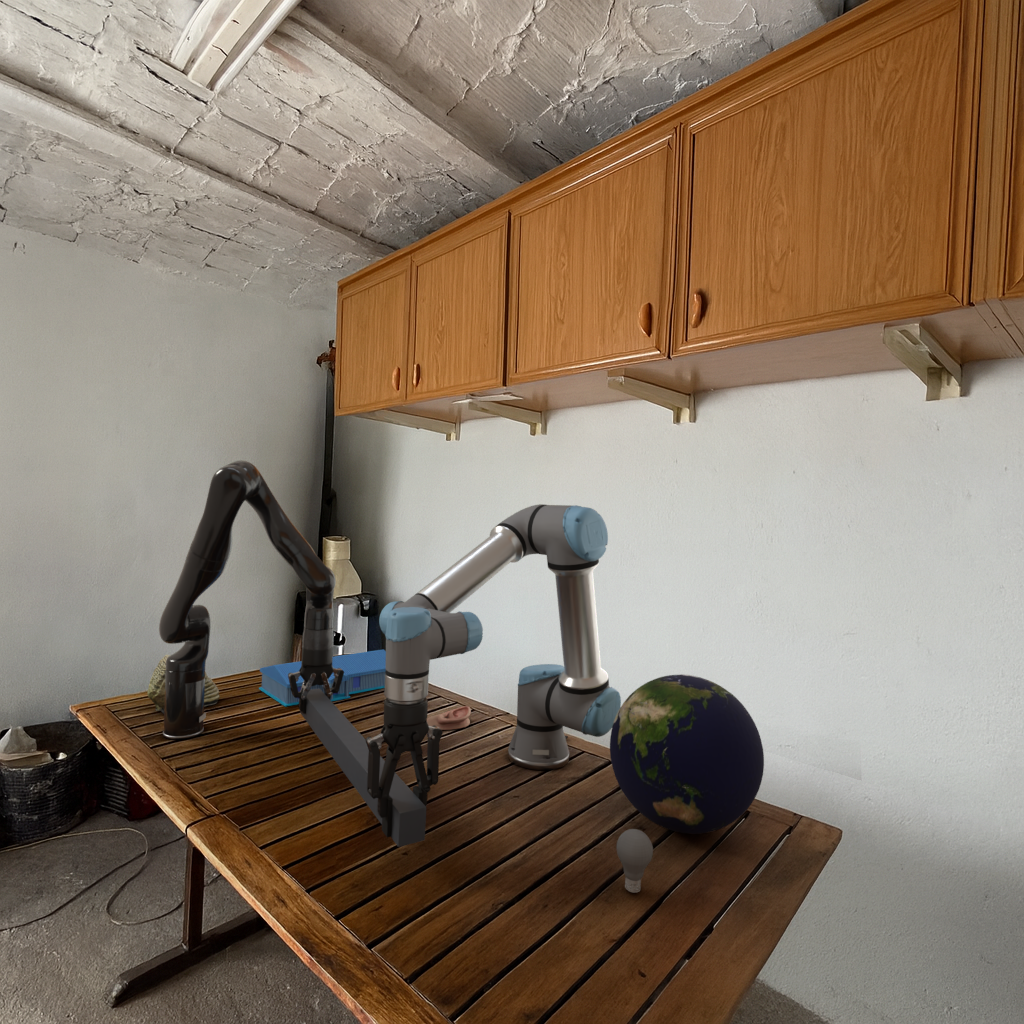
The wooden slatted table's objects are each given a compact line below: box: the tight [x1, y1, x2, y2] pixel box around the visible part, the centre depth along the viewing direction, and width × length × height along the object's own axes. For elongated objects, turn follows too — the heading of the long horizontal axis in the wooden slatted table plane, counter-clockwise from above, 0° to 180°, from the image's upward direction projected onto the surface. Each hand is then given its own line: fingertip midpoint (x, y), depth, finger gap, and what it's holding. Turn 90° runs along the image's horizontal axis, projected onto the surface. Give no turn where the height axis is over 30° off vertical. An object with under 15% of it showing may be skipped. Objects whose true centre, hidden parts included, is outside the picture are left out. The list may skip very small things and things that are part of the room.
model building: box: [258, 649, 386, 707], centre depth 208 cm, size 39×24×10 cm, turn 132°
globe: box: [609, 673, 765, 835], centre depth 128 cm, size 30×30×30 cm
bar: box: [299, 689, 428, 848], centre depth 136 cm, size 69×5×6 cm, turn 32°
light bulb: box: [615, 828, 654, 894], centre depth 106 cm, size 6×6×10 cm
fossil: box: [147, 654, 221, 712], centre depth 185 cm, size 9×18×15 cm, turn 132°
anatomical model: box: [427, 705, 472, 731], centre depth 180 cm, size 13×4×12 cm
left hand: (314, 711), depth 161 cm, fingers closed on bar, 5 cm apart
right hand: (401, 829), depth 111 cm, fingers closed on bar, 5 cm apart
